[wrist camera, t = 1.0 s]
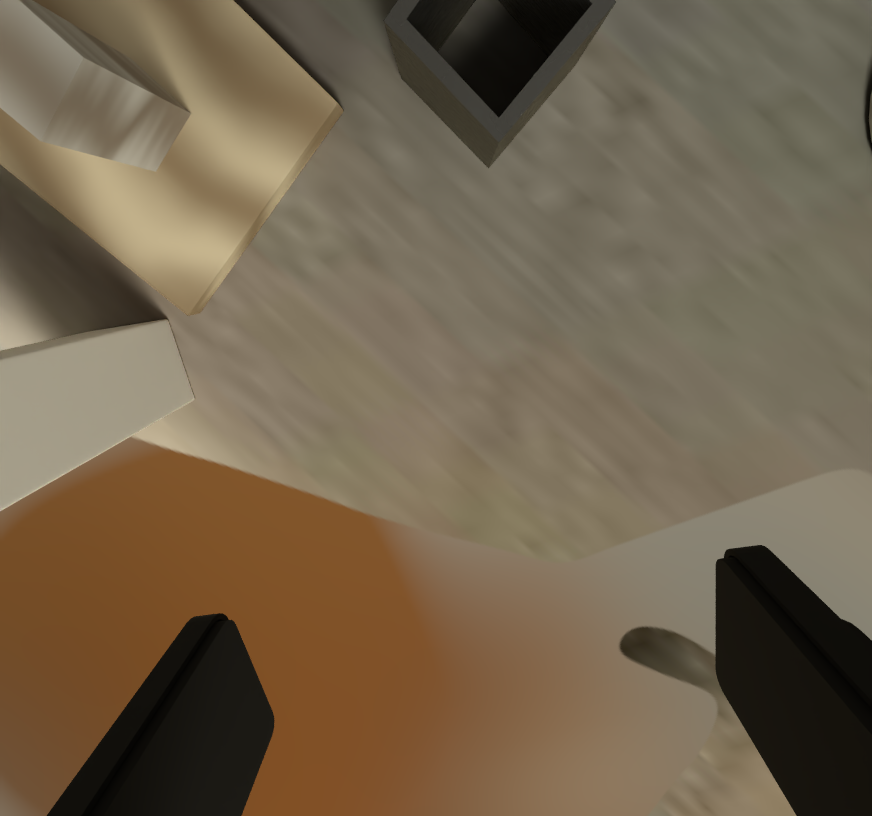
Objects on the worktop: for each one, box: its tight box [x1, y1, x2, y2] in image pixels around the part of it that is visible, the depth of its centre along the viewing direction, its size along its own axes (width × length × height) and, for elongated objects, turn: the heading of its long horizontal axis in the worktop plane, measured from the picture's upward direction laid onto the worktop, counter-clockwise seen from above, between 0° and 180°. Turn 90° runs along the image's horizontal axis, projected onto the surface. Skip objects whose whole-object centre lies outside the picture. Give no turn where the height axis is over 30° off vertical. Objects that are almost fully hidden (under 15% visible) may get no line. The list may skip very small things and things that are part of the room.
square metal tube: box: [384, 0, 616, 168], centre depth 23 cm, size 7×7×7 cm
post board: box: [0, 0, 344, 316], centre depth 23 cm, size 16×16×10 cm
